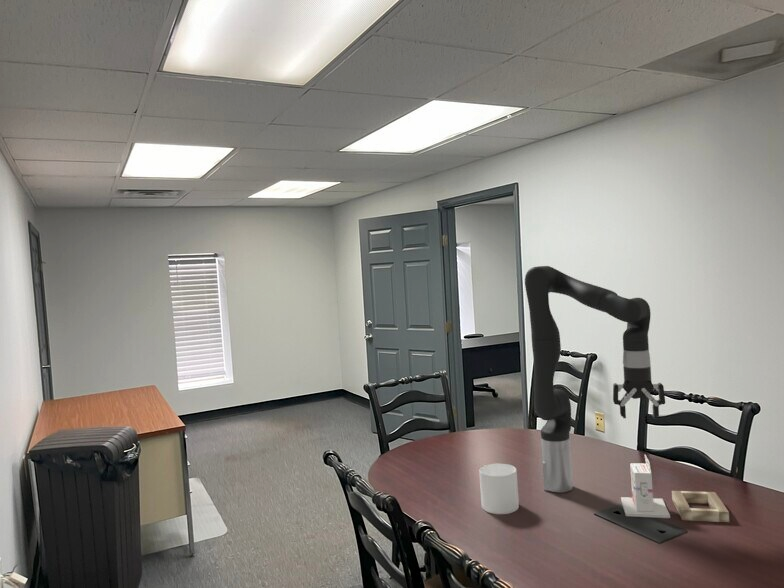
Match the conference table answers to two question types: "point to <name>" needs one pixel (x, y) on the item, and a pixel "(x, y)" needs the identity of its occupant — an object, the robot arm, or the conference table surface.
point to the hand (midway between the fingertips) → (639, 417)
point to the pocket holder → (696, 514)
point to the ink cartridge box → (642, 486)
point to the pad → (658, 512)
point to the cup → (499, 488)
